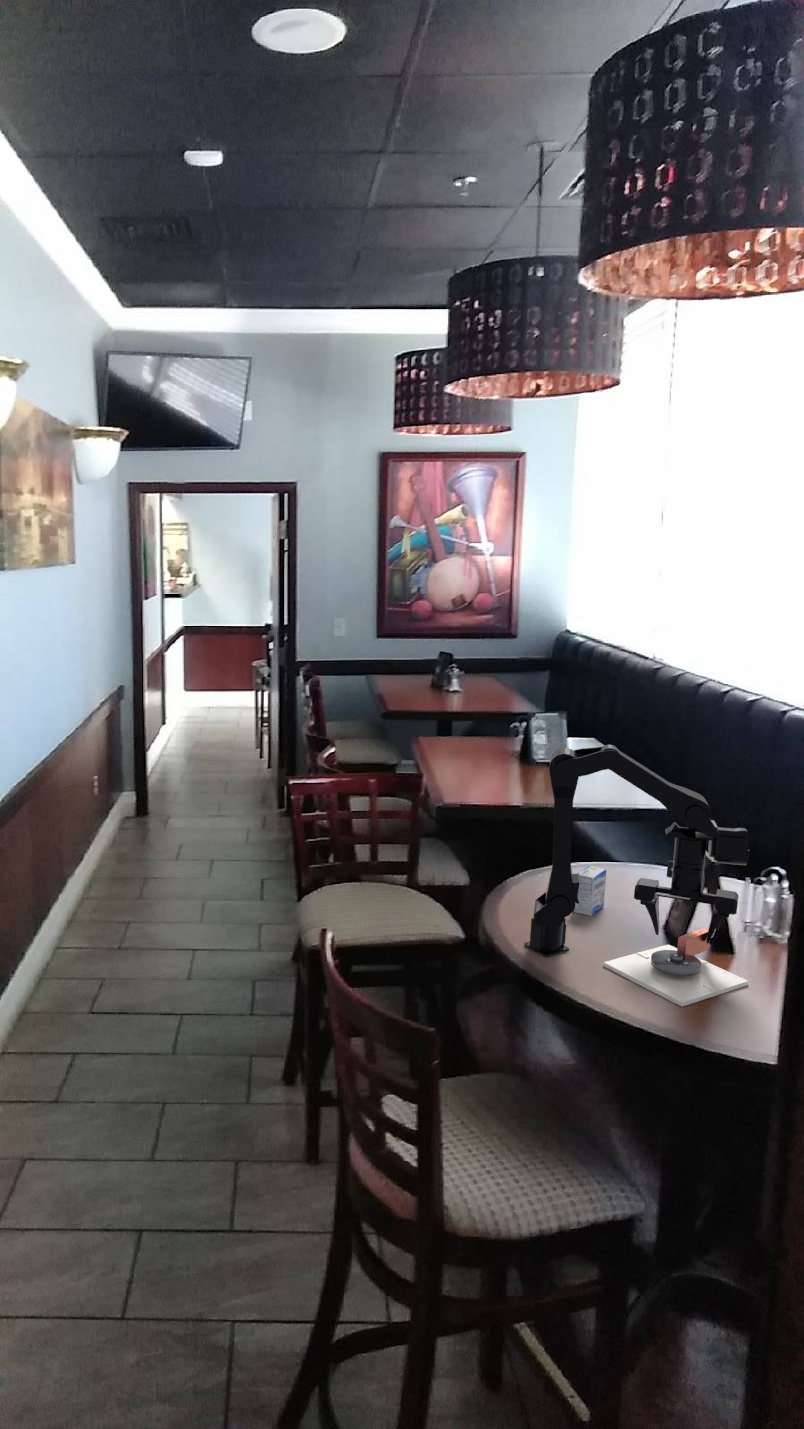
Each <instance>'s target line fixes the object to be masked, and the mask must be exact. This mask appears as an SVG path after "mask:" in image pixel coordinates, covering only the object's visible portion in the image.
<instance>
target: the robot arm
mask: <svg viewBox="0 0 804 1429" xmlns="http://www.w3.org/2000/svg"><path fill="white" fill-rule="evenodd" d="M549 759H550V760H549V765H548V766H549V768H548V770H549V778H550V784H551V790H552V795H553V829H552V830H553V832H552V833H553V834H552V835H553V836H552V860H551V861H552V862H551V863H552V864H551V869H550V872H549V877H548V881H547V885H546V891H545V892H543V893H542V894H541V895H540V896H538V897H537V898H536V899H535V900H534V907H533V917H531V919H530V932H529V933H530V935H529V941H525V942H523V946H525V947H527V948H528V949H531V950H532V951H533V952H536V953H538V955H539V954H540V955H541V956H542V957H549V956H553V955H558V954H561V953H565V952H568V951H570V947H569V946H567V945H565V944H566V934H567V924H566V920H567V919H566V917H569V916H570V915H571V914H572V913H574V912H573V911H574V910H575V902H576V903H577V904H579V890H578V889H579V884H580V877H579V872H577V873H573V869H572V845H573V844H572V842H573V841H572V839H573V838H572V837H573V836H572V835H573V816H574V815H573V814H574V813H573V811H574V809H573V808H574V799H575V798H574V797H575V794H576V790H577V786H578V781H579V778H580V777H585V776H588V775H592V774H595V773H599V772H601V771H605V770H608V771H609V770H610V771H612V773H614V774H616V775H618V776H619V777H621V779H624V780H625V781H626V782H628V783H630V784H631V785H633V786H634V787H636V788H637V789H639V790H641V791H642V792H644V793H646V794H647V795H649V796H650V797H652V798H653V799H655V800H656V801H658V802H659V803H660V804H661V805H663V807H664V808H666V809H667V811H668V812H669V813H670V814H671V815H672V816H673V817H675V819H677V821H679V822H680V823H681V824H682V825H683V826H679V825H678V823H677V822H675V821H674V822H672V824H670V826H668V827H667V828H665V830H664V831H665V835H666V837H667V838H674V848H673V859H672V860H668V863H667V870H666V877H667V878H671V884H670V885H671V886H670V887H667V886H659V885H660V880H659V879H651V878H643V877H641V878H639V879H638V880H637V881H636V884H635V886H634V890H633V891H634V892H633V899H634V900H636V901H640V902H639V904H640V905H642V906H645V908H646V910H647V912H648V915H649V917H650V919H651V923H652V926H653V930H654V932H655V935H656V936H659V933H660V897H661V898H667V899H672V900H673V899H674V900H681V901H686V902H687V901H688V902H694V903H695V902H696V903H701V904H708V905H713V911H712V914H711V918H710V922H709V926H708V929H707V930H708V934H707V942H706V943H709V944H710V941H711V940H712V937H713V935H714V933H715V931H716V929H717V927H718V926H719V924H720V923H721V921H722V920H723V919H724V918H726V919H728V918H730V915H732V916H733V915H737V913H738V904H739V894H738V893H737V891H733V890H732V891H731V890H725V889H720V888H717V890H716V894H714V893H713V894H712V893H707V892H703V891H704V888H705V878H706V877H705V866H706V865H705V864H706V852H707V850H708V857H709V858H713V861H714V863H716V864H725V865H726V864H727V865H728V864H729V865H735V866H736V865H739V866H747V865H748V863H749V858H750V849H749V839H748V835H749V832H748V830H747V829H746V828H745V827H736V828H733V827H732V828H731V827H722V826H721V827H719V826H718V825H717V823H716V821H715V820H713V819H712V818H711V816H712V811H711V808H710V806H709V803H708V801H707V800H706V799H705V796H703V795H701V794H700V793H699V792H696V791H694V790H691V789H689V788H687V787H684V786H680V785H677V784H674V783H672V782H669V781H667V780H666V779H665V778H663V777H662V776H660V775H659V774H657V773H656V772H653V771H652V770H650V769H649V768H648V767H646V766H645V765H643V764H641V763H639V762H638V761H636V760H635V759H634V758H632V757H630V756H628V754H625V753H624V752H622V751H620V750H619V749H618V747H616V745H613V744H606V745H603V746H602V745H601V746H596V747H586V748H585V747H583V748H578V749H572V748H570V747H569V748H568V747H560V748H558V749H556V750H555V751H554V752H553V753H552V754H551V756H550V758H549ZM696 830H698V831H696ZM707 841H708V849H707Z"/></svg>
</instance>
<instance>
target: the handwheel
mask: <svg viewBox="0 0 804 1429" xmlns="http://www.w3.org/2000/svg"><path fill="white" fill-rule="evenodd" d="M708 930H709V929H707V928H704V927H701V928H699V929H696V930H693V931H690V932H688V933H685V934H683V935H680V936H678V939H677V947H676V948H677V951H675V950H661V951H656V952H654V953H653V954H652V955H651V965H652V966H653V967H654V968H655V969H657V970H659V971H661V972H663V973H666V974H670V975H675V976H693V975H696V974H698V973H699V972H700V971H701V961H700V960H699V959H700V958H699V957H697V955H699V954H701V953H704V952H706V951H709V950H710V949H709V948H710V942H709V943H706V942H707V934H708ZM698 958H699V959H698Z"/></svg>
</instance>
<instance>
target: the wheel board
mask: <svg viewBox="0 0 804 1429" xmlns="http://www.w3.org/2000/svg"><path fill="white" fill-rule="evenodd" d="M661 950H675V951H677V947H675V946H674V945H670V944H664V945H661V946H658V947H654V948H650V949H647V950H643V951H640V952H635V953H631V954H629V955H625V956H621V957H618V958H613V959H610V960H607V961H603V967H604V968H606V969H609V970H610V971H612V972H614V973H616V974H618V975H620V976H622V977H624V978H626V979H627V980H629V981H631V982H633V983H636V984H638V985H640V986H641V987H643V988H645V989H647V990H649V991H650V992H653V993H655V994H657V995H659V996H660V997H662V998H665V999H667V1000H668V1001H670V1002H672V1003H674V1004H676V1005H679V1007H681V1008H682V1007H685V1006H688V1005H692V1004H694V1003H695V1004H696V1003H697V1002H701V1001H703V1000H704V1001H705V1000H706V999H710V998H713V997H716V996H719V995H722V994H725V993H729V992H731V991H735V990H737V989H741V988H744V987H746V986H748V985H749V980H748V979H745V978H743V977H741V976H738V975H736V974H734V973H732V972H730V971H727V970H726V969H723V968H721V967H719V966H716V965H714V964H712V963H710V962H708V961H707V960H703V959H702V958H699V957H697V958H698V959H699V960H700V961H701V971H700V972H699V973H698V974H696V975H693V976H675V975H670V974H666V973H663V972H661V971H659V970H657V969H655V968H654V967H653V966H652V965H651V955H652V954H653V953H654V952H656V951H661Z"/></svg>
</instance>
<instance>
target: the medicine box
mask: <svg viewBox="0 0 804 1429" xmlns="http://www.w3.org/2000/svg"><path fill="white" fill-rule="evenodd" d="M578 873H579V877H580V884H579V889H578V890H579V904H577V903H576V902H575V910H574V911H573V913H575V914H579V915H585V916H588V917H592V916H594V915H595V914H596V913H597V912H598V911H599V910H600V909H602V908H603V907H604V906H605V895H606V883H607V882H606V881H607V869H605V868H602V867H597V866H590V865H588V866H587V867H585V868H584V869H582V870H581V871H579V872H578Z"/></svg>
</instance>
